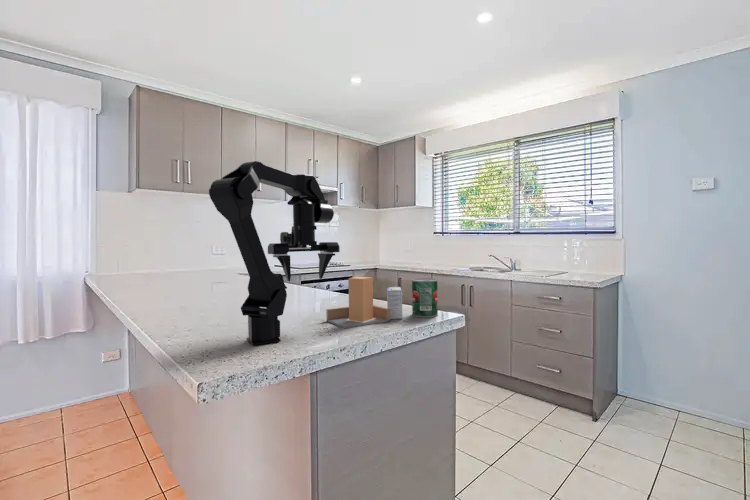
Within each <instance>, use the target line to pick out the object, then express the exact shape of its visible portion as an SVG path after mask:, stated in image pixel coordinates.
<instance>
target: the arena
mask: <svg viewBox="0 0 750 500" xmlns="http://www.w3.org/2000/svg"><path fill="white" fill-rule="evenodd" d="M325 311H326V322H328V323H331V324H333V325H335V326H338V327H339V328H342V329H348V328H354V327H355V328H356V327H360V326H361V327H362V326H368V325H375V324H381V323H389V322H391V319H390V309H387V307H383V306H379V305H375V304H373V319H370V320H367V321H364V322H362V321H354V320H349V306H342V307H333V308H326V310H325Z"/></svg>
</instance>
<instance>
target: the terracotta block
mask: <svg viewBox="0 0 750 500" xmlns="http://www.w3.org/2000/svg"><path fill="white" fill-rule="evenodd" d="M373 278H374V277H371V276H370V277H369V276H354V277H349V278H348V307H349V320H354V321H362V322H364V321H367V320H370V319H373V305H374V282H373V281H374V279H373Z"/></svg>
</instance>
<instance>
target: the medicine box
mask: <svg viewBox="0 0 750 500" xmlns="http://www.w3.org/2000/svg"><path fill="white" fill-rule="evenodd" d="M386 295H387V296H386V297H387V299H386V301H387V304H386V305H387V307H386V308H387V309H390V320H402V319H403V291H402V288H401V286H390V287H387V288H386Z"/></svg>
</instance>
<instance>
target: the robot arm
mask: <svg viewBox="0 0 750 500" xmlns="http://www.w3.org/2000/svg"><path fill="white" fill-rule="evenodd" d="M260 184H263V185H267V186H270V187H273V188H277V189H281V190H283V191H284V192H285V194H287V195H288V196H290V197H291V198H290V199H289V201H287V205H288V206H292V224H293V225H292V226H291V232H288V231H281V232H280V234H279V235H280V239H279V240H280V242H278V243H273V242H272V243H271V242H270V243H269V244H268V245H267V254H268V255H272V257H273V258H276V259H277V260H278V261H279V263H280V265H281V267H282V270H283V273H284V275H285V278H286V281H288V282H291V279H292V277H291V276H292V274H291V272H292V271H291V255H290V254H289V255H288V253H291V252H293V253H295V252H318V253H317V256H318V260H319V261H318V277H319V279H320V280H322V279H323V277H324V274H326V273H325V272H326V270H327V267H328V265H329V263H330V261H331V260H332V258H333V256H336V253H340V250H341V249H340V248H341V247H340V245H339V243H338V242H337V241H335V242H334V241H325V242H321V241H320V242H318V243H317V240H316V230H317V228H318V227H317V225H316V224H327V223H330V222H331V221H332V220H333V218H334V214H335V212H334V211H335V210H333V207H332V206H331V205H330V204H329V202H328V201H329V200H328V199H325V196H324V193H323V192H322V189H321V187H320V185H319V184H320V183H319V181H317V178H316V177H315V176H314V175H313V174H295V173H294V174H292V173H290V172H287V171H285V170H282V169H278V168H275V167H272V166H269V165H267V164H264V163H262V162H261V161H258V160H255V161H248V162H244V163H242V164H240V165H239V166H238V167H237V168H236V169H234V170H233V171H230V172H229V173H227V174H225V175H224V176H222V177H221V178H220V179H216V180H214V181H213V182H212V183H211V185H210V187H209V189H208V194H209V198H210V200H211V202H212V204H213V205H214V208H216V211H217V212H218V213H219V214H221V216H222V217H224V219H226V220H227V221H228V223H229V226H230V228H231V231H232V234H233V237H234V239H235V241H236V244H237V247H238V250H239V251H240V255H241V258H242V259H243V260H242V261H243V263H244V265H245V268H246V270H247V272H248V276H249V280H248V285H247V290H248V291H247V292H248V296H247V297H246V299H245V300H244V302H243V304H242V305H241V306H240V311H241V315H242V316H247V321H248V322H247V325H248V326H247V327H248V331H247V332H248V335H247V336H248V337H246V341H247V342H249V343H250V345H252V346H259V345H266V344H271V343H278V342H281V338H280V337H281V320H280V319H278V317H280V316H283V315H284V311H285V306H286V302H287V298H288V297H287V296H288V295H287V294H288V293H287V288H288V287H287V286H286V284H285V282H284V281H285V280H284V276H283V275H282V273H274V272H273V271H272V270H271V268H270V266H269V262H268V258H267V257H266V253H265V251H264V248H263V244H262V243H261V240H260V237H259V233H258V230H257V228H256V226H255V222H254V220H253V216H252V212H253V205H254V199H253V193H254V192H255V191H256V190H257V189H258V188H259V185H260ZM315 223H316V224H315Z"/></svg>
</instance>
